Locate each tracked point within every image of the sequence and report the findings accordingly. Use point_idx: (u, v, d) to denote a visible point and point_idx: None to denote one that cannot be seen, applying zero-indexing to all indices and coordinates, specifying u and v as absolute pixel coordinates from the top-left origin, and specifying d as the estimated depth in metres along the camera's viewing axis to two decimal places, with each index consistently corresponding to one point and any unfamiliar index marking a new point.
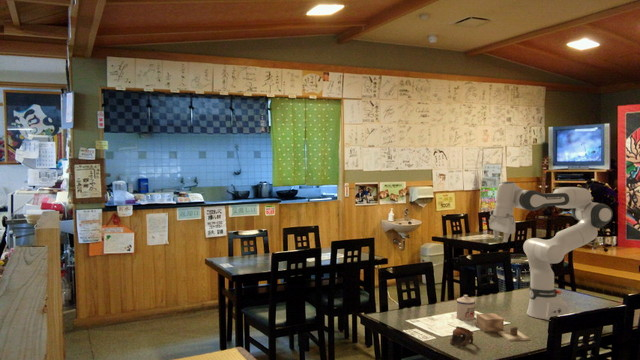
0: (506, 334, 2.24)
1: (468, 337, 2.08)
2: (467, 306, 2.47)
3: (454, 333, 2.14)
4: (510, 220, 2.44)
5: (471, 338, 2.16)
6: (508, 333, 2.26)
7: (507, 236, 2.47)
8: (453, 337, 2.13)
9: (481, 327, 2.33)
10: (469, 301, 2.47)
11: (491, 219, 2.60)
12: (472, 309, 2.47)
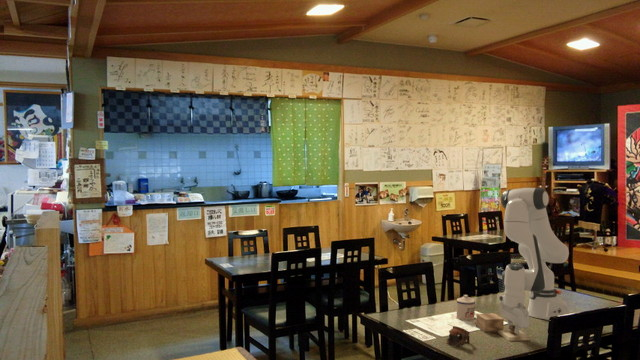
0: (506, 333, 2.24)
1: (465, 337, 2.08)
2: (467, 306, 2.47)
3: (451, 333, 2.14)
4: (523, 312, 2.15)
5: (467, 338, 2.16)
6: (508, 332, 2.26)
7: (518, 327, 2.20)
8: (449, 337, 2.14)
9: (481, 327, 2.33)
10: (469, 301, 2.47)
11: (501, 305, 2.31)
12: (472, 309, 2.47)
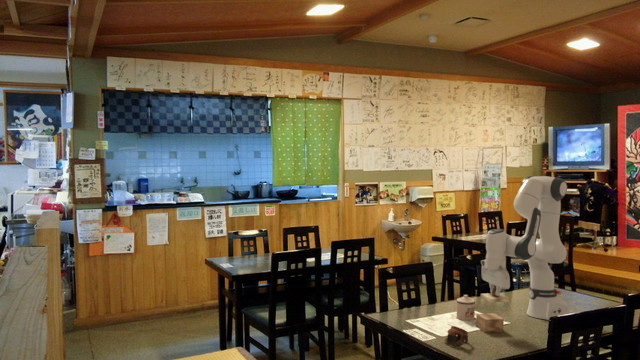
0: (487, 295, 2.32)
1: (463, 337, 2.09)
2: (467, 306, 2.47)
3: (449, 333, 2.14)
4: (503, 274, 2.22)
5: (466, 338, 2.16)
6: (490, 295, 2.33)
7: (499, 289, 2.28)
8: (448, 337, 2.14)
9: (481, 327, 2.33)
10: (469, 301, 2.47)
11: (483, 269, 2.39)
12: (472, 309, 2.47)
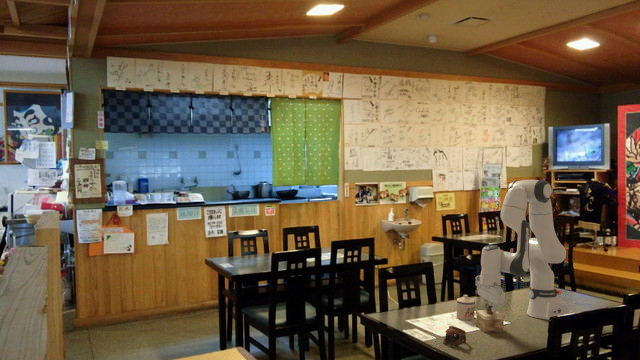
0: (482, 313, 2.34)
1: (461, 336, 2.09)
2: (467, 306, 2.47)
3: (447, 333, 2.14)
4: (498, 291, 2.25)
5: (464, 337, 2.16)
6: (484, 312, 2.36)
7: (495, 306, 2.29)
8: (446, 336, 2.14)
9: (481, 327, 2.33)
10: (469, 301, 2.47)
11: (478, 285, 2.41)
12: (472, 309, 2.47)
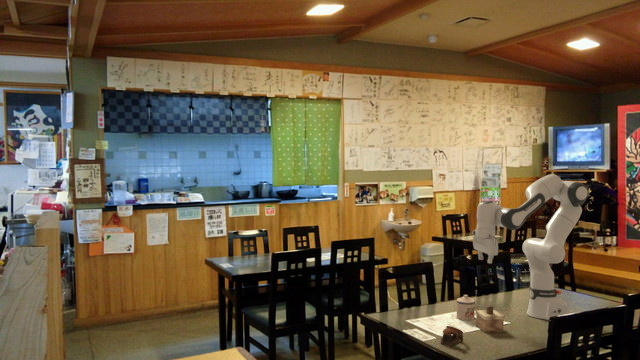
0: (482, 313, 2.34)
1: (459, 336, 2.09)
2: (467, 306, 2.47)
3: (444, 333, 2.14)
4: (492, 241, 2.38)
5: (461, 337, 2.16)
6: (484, 312, 2.36)
7: (491, 257, 2.42)
8: (443, 336, 2.14)
9: (481, 327, 2.33)
10: (469, 301, 2.47)
11: (474, 239, 2.55)
12: (472, 309, 2.47)
